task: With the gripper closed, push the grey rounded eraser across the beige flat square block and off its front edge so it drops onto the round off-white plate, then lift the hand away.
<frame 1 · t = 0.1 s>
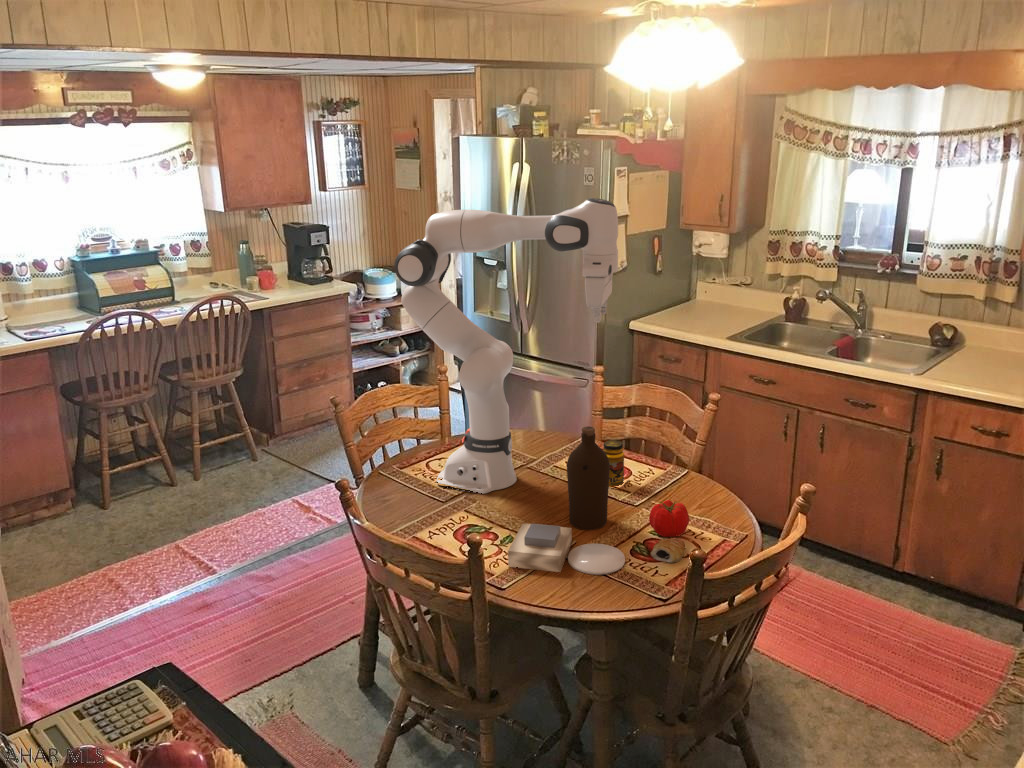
hand: (599, 318, 215), 48 cm above the table, tool pointing down, fingers open, 8 cm apart
grey rounded eraser: (542, 539, 194), point 4 cm above the table, touching beige flat square block
beige flat square block: (540, 554, 195), on the table
olive oil: (588, 522, 211), on the table
plate: (596, 560, 192), on the table
tomato: (668, 533, 204), on the table
condiment: (610, 483, 233), on the table
pastry: (668, 556, 194), on the table
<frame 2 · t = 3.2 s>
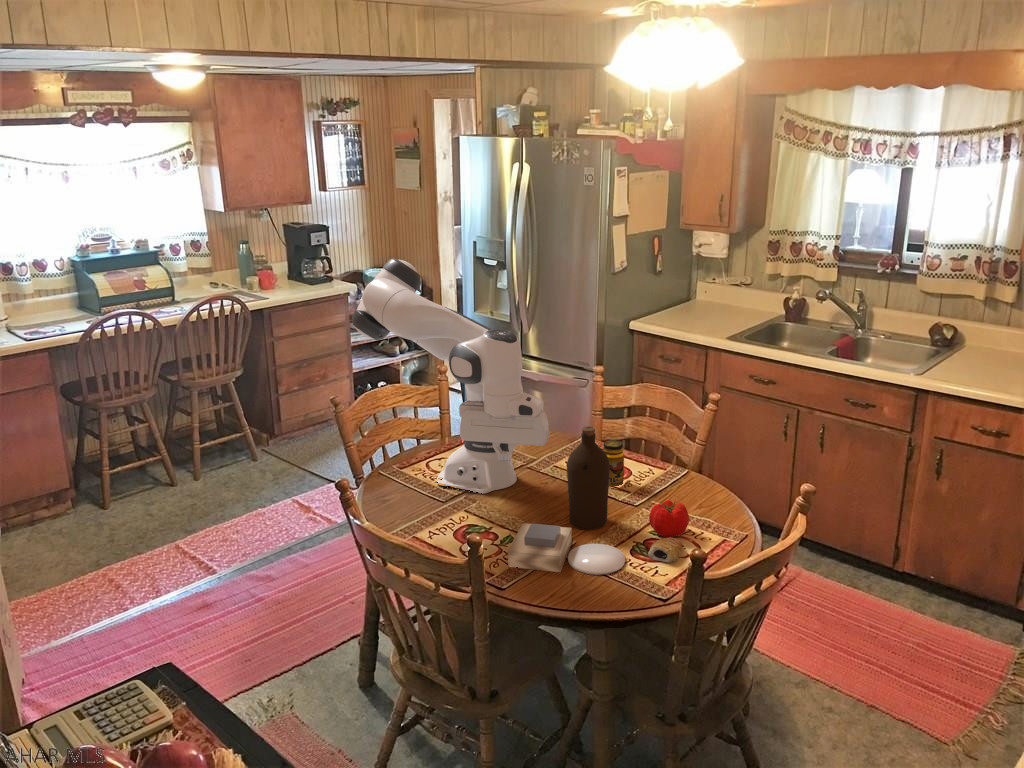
hand: (505, 460, 190), 23 cm above the table, tool pointing down, fingers closed
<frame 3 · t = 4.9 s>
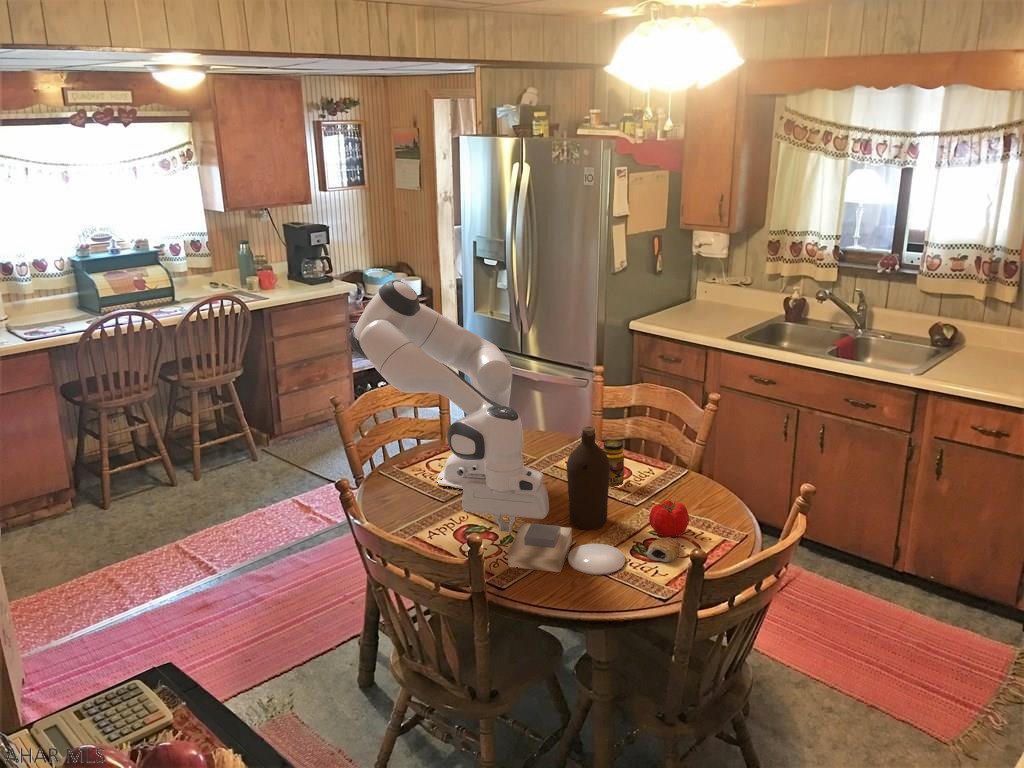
hand: (505, 530, 195), 5 cm above the table, tool pointing down, fingers closed
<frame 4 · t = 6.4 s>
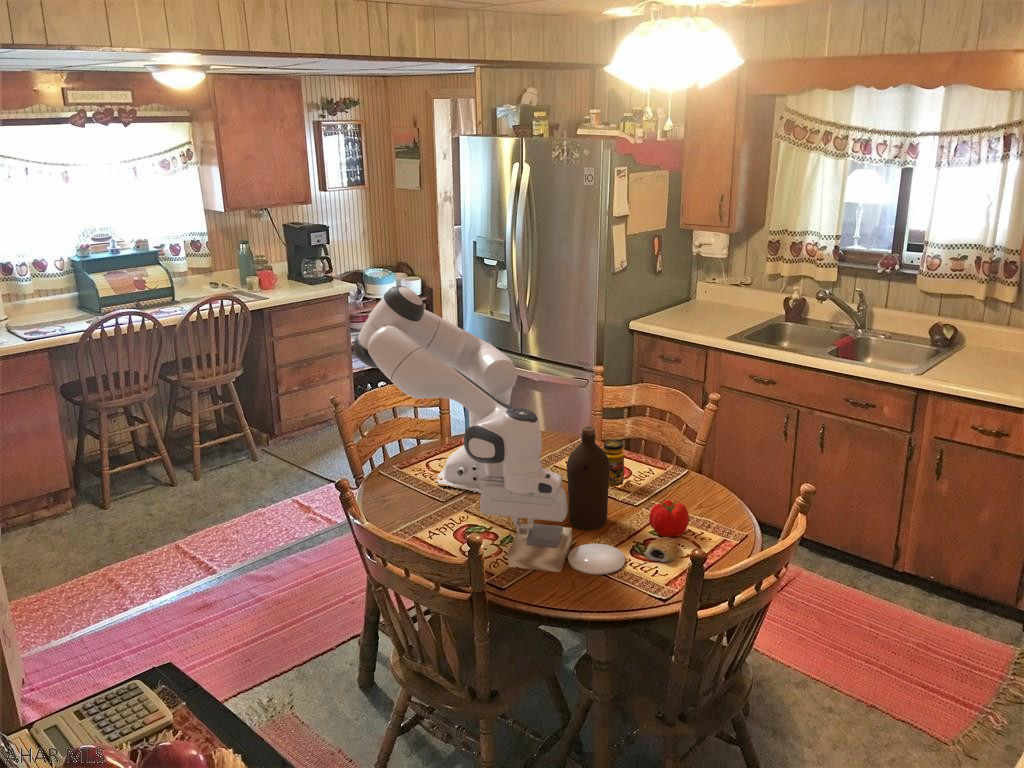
hand: (524, 533, 194), 5 cm above the table, tool pointing down, fingers closed
grey rounded eraser: (545, 539, 194), point 4 cm above the table
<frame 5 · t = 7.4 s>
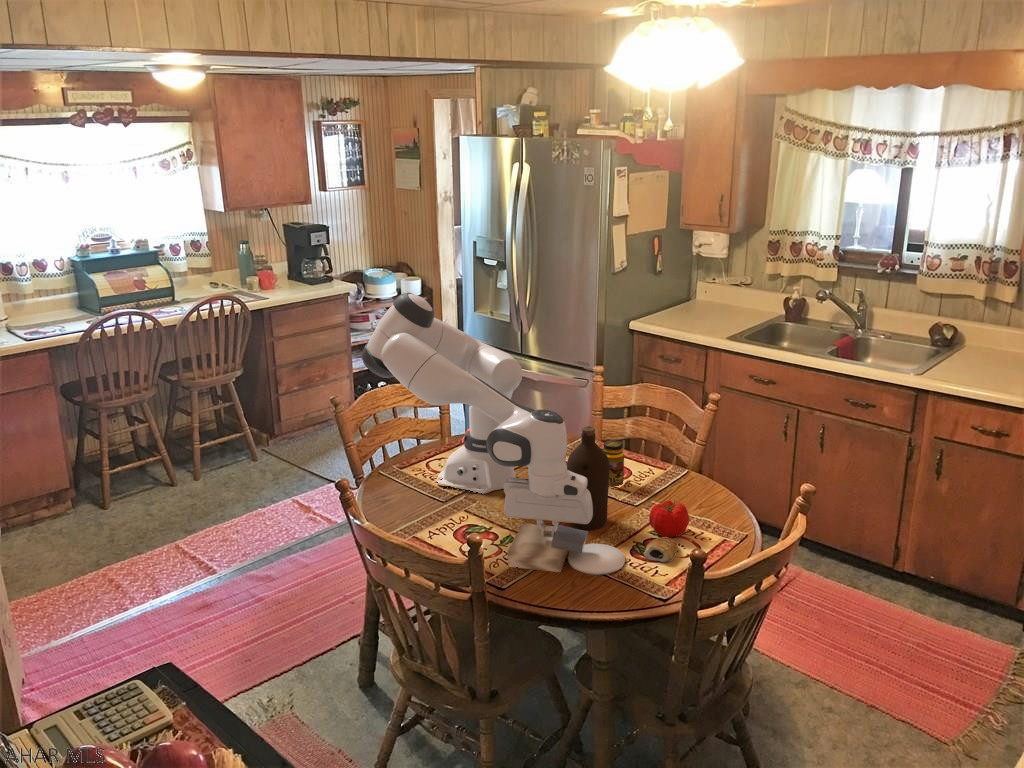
hand: (548, 536, 193), 5 cm above the table, tool pointing down, fingers closed
grey rounded eraser: (569, 542, 192), point 4 cm above the table, tilted 8°, touching beige flat square block, gripper
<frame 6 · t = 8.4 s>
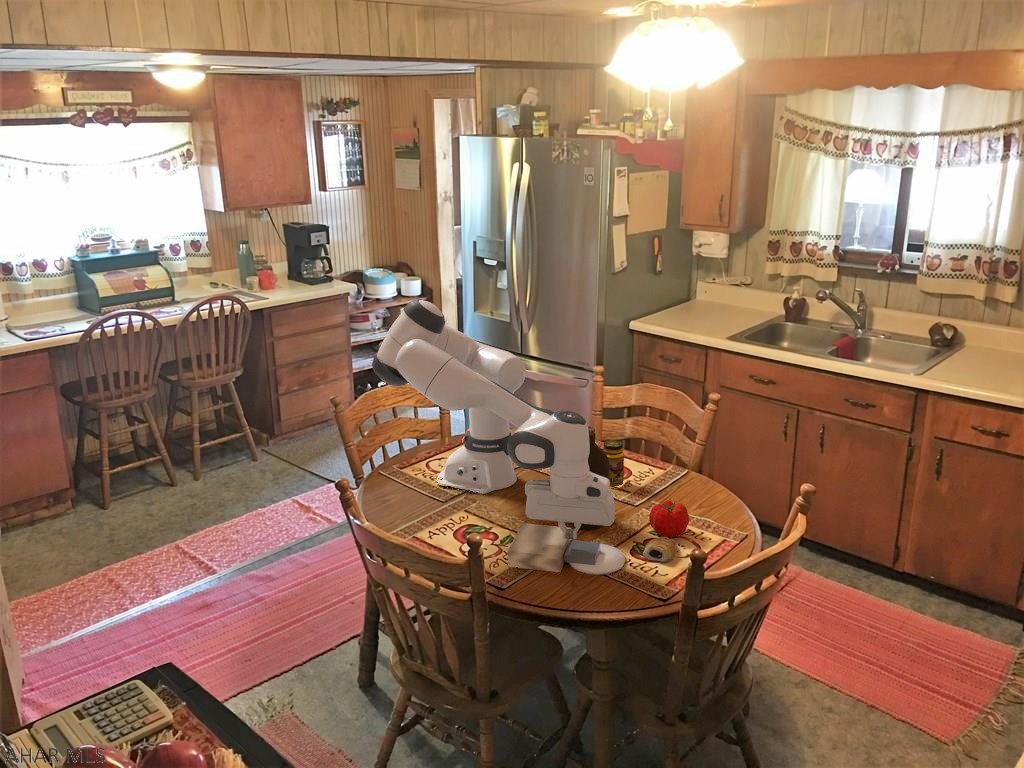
hand: (570, 537, 192), 5 cm above the table, tool pointing down, fingers closed
grey rounded eraser: (582, 556, 192), point 1 cm above the table, touching plate
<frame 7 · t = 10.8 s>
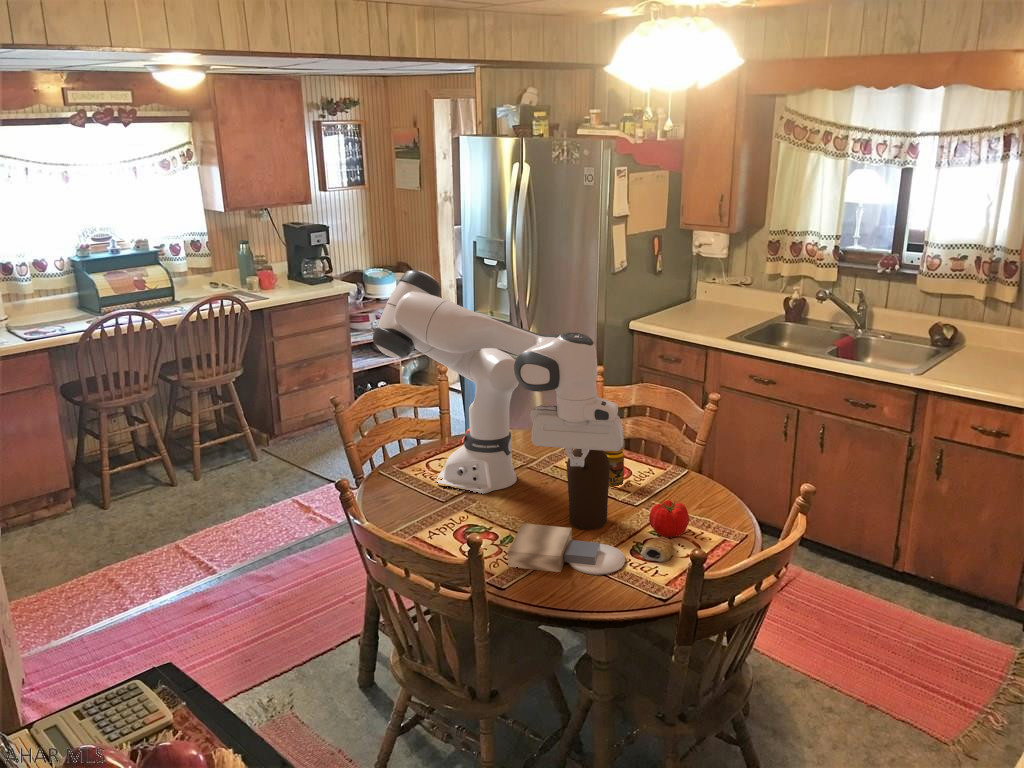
hand: (577, 465, 186), 23 cm above the table, tool pointing down, fingers closed
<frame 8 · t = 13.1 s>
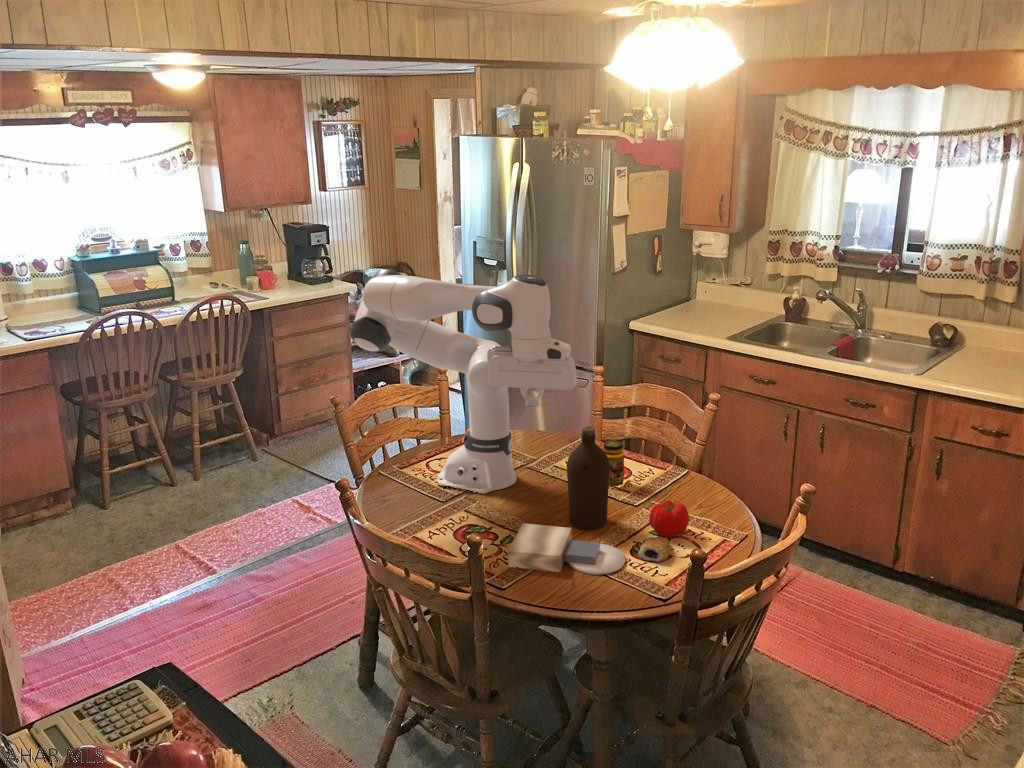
hand: (532, 405, 192), 34 cm above the table, tool pointing down, fingers closed
at the end: grey rounded eraser inside the target area on the plate (3.1 cm from its centre), point 0.8 cm above the plate's base; grey rounded eraser point 0.8 cm above the table; grey rounded eraser tilted 0° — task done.
